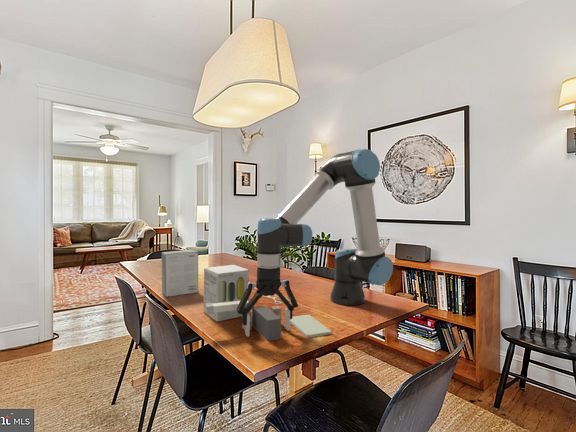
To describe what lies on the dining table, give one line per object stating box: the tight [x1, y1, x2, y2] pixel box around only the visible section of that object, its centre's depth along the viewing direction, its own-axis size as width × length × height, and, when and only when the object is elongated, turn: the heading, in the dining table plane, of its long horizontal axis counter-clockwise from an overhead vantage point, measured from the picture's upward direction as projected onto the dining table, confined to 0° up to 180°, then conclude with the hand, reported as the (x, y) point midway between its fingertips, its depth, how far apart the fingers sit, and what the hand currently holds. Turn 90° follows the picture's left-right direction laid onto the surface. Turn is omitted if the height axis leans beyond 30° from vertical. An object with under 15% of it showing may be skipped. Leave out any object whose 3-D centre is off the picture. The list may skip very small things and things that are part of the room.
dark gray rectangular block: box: [251, 305, 282, 342], centre depth 100 cm, size 4×14×6 cm, turn 27°
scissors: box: [262, 295, 298, 305], centre depth 139 cm, size 11×1×20 cm
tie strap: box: [205, 300, 250, 315], centre depth 100 cm, size 14×4×2 cm, turn 112°
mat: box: [290, 314, 333, 339], centre depth 105 cm, size 9×17×1 cm, turn 22°
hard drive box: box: [161, 249, 199, 298], centre depth 145 cm, size 16×8×20 cm, turn 123°
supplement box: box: [203, 264, 250, 323], centre depth 117 cm, size 13×13×18 cm
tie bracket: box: [241, 305, 282, 332], centre depth 105 cm, size 13×3×6 cm, turn 112°
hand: (267, 331), depth 98 cm, fingers open, 13 cm apart
